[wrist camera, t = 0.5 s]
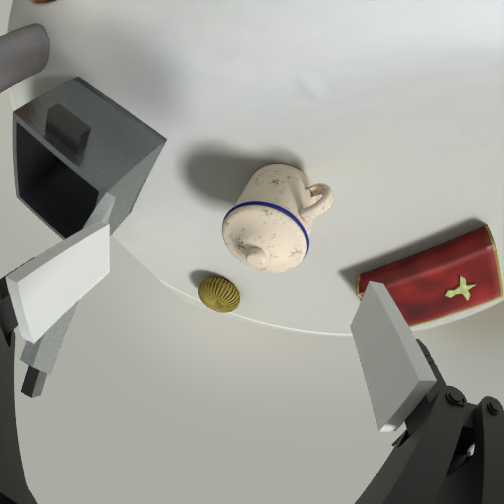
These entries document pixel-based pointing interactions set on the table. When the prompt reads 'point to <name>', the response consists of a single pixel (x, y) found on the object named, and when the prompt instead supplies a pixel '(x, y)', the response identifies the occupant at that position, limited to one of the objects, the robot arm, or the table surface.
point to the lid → (55, 326)
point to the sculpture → (219, 294)
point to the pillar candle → (22, 54)
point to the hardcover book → (441, 278)
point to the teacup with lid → (274, 218)
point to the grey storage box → (80, 156)
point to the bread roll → (40, 1)
